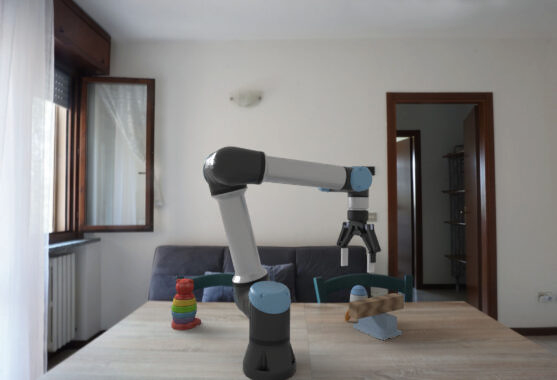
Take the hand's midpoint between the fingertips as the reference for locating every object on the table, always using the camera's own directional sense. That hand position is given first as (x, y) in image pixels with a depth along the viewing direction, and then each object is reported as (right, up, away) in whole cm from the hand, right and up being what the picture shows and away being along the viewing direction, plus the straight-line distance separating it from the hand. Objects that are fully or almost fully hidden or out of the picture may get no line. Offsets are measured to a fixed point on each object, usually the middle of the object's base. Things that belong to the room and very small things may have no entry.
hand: (357, 268), depth 128 cm
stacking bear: (-64, -24, +8) cm, 68 cm away
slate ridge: (+8, -24, +2) cm, 25 cm away
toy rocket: (+3, -24, +14) cm, 28 cm away
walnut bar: (+8, -17, +3) cm, 19 cm away
